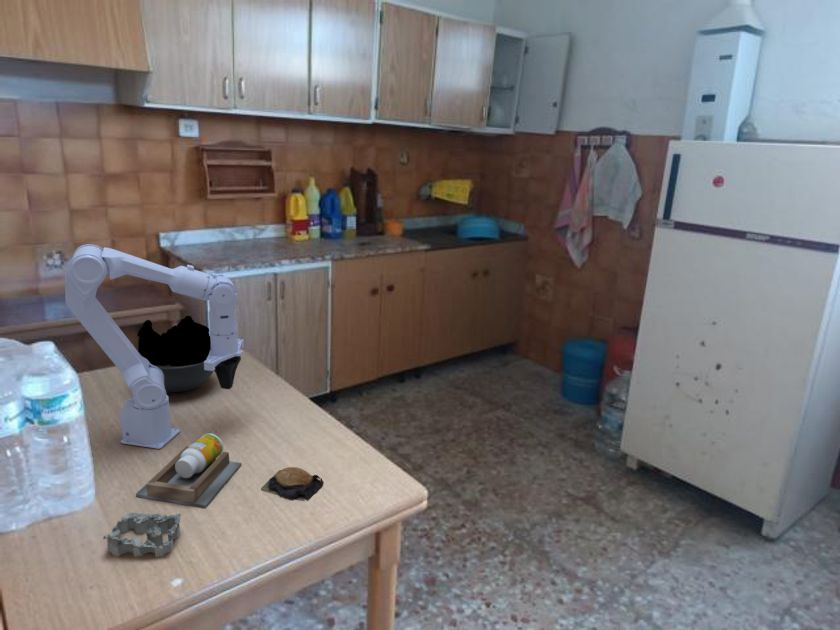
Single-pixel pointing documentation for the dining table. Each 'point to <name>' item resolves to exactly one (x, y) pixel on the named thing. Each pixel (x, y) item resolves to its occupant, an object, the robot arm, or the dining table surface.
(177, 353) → the bowl of black rocks
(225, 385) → the robot arm
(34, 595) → the dining table surface
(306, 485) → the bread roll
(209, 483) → the cradle
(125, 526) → the egg carton
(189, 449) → the supplement bottle
